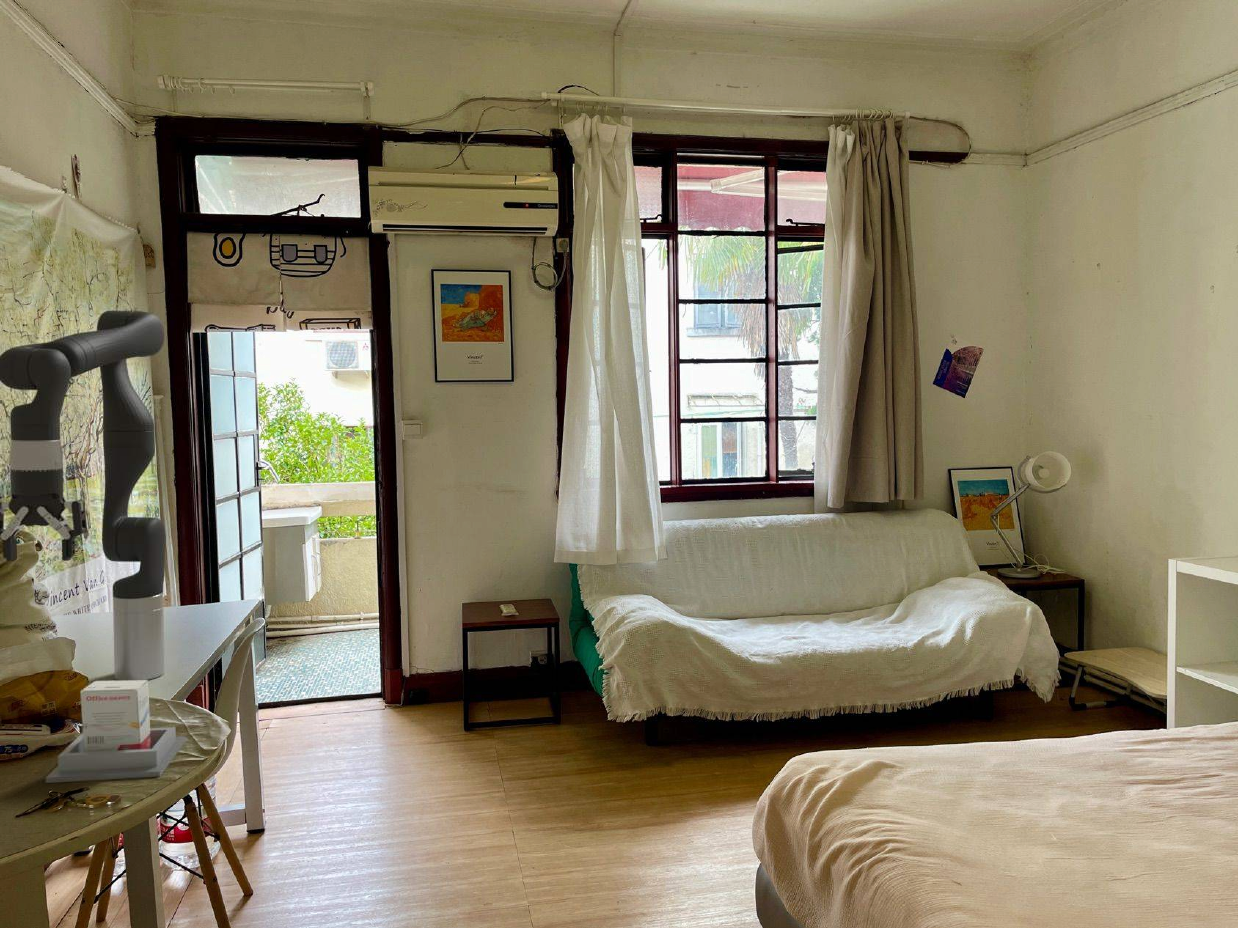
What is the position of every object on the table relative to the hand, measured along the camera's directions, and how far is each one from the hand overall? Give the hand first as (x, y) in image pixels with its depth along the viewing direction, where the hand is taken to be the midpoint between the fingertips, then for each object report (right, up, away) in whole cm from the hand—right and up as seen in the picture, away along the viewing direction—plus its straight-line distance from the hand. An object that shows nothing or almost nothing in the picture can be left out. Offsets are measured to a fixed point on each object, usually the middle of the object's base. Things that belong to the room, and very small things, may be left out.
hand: (39, 560), depth 151 cm
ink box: (+19, -31, -9) cm, 37 cm away
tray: (+19, -31, -9) cm, 38 cm away
